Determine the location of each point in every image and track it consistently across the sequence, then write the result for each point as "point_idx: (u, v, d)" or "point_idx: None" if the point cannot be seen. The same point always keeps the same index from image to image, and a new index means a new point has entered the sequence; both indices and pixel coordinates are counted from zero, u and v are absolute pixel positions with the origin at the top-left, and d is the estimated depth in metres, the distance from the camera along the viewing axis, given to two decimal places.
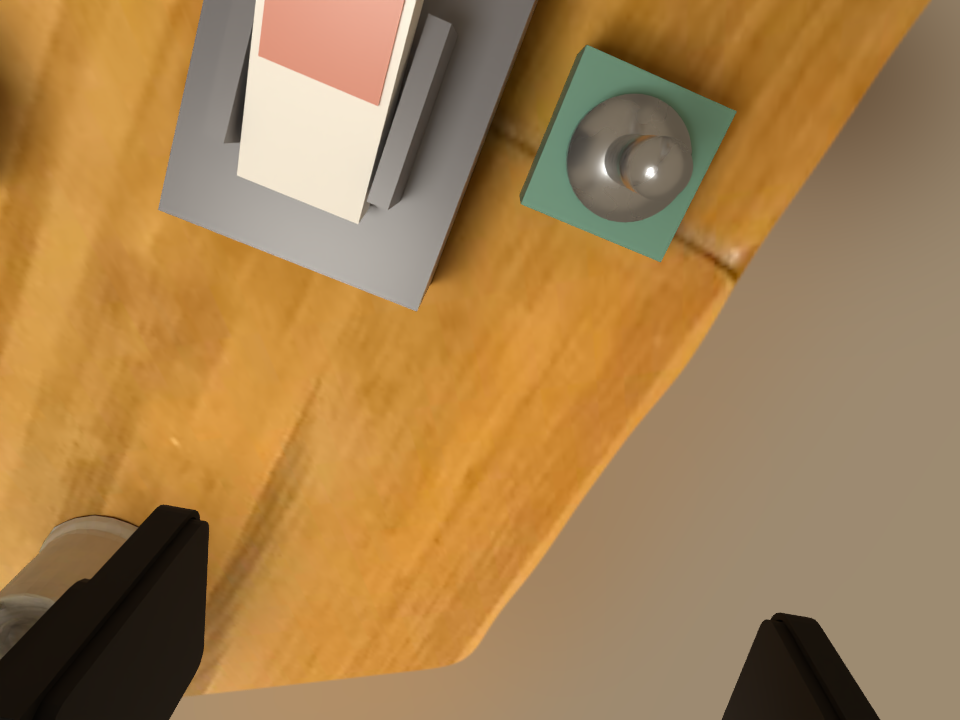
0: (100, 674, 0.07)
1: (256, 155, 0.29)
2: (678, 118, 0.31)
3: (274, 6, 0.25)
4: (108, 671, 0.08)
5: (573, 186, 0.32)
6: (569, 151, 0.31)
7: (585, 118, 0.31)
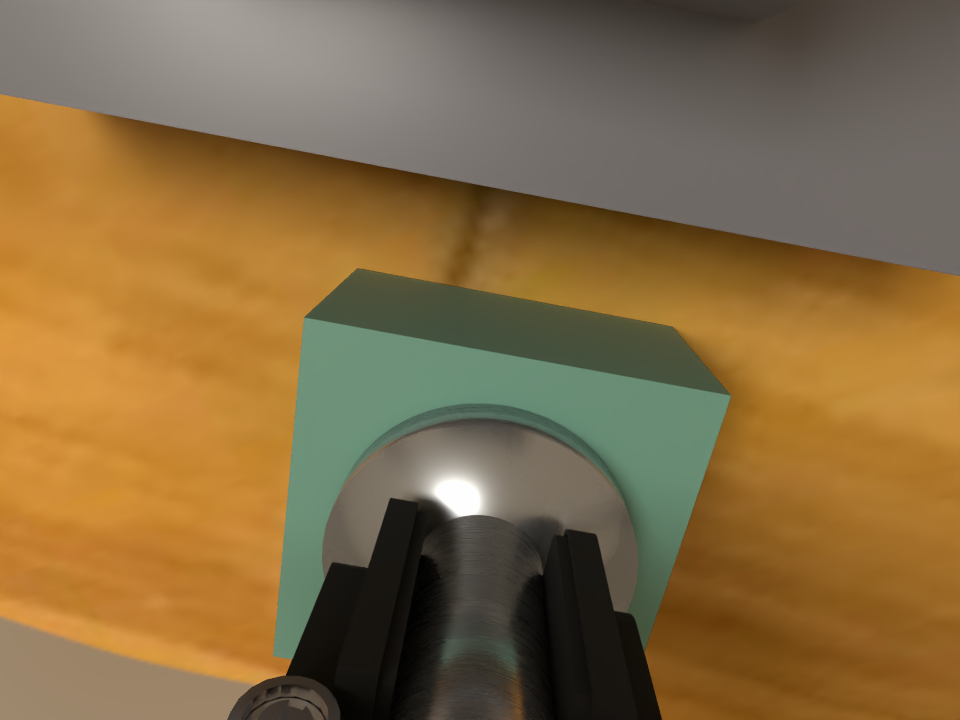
0: (403, 639, 0.09)
1: None
2: None
3: None
4: (403, 638, 0.09)
5: (380, 458, 0.12)
6: (467, 428, 0.11)
7: (559, 450, 0.11)
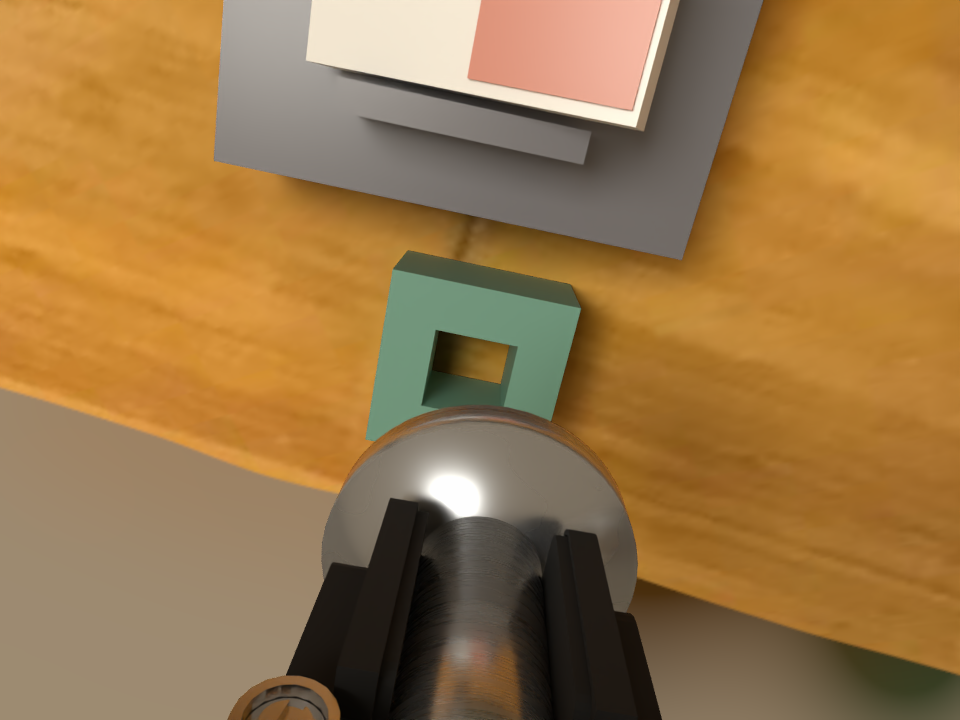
0: (403, 639, 0.09)
1: None
2: None
3: None
4: (403, 638, 0.09)
5: (379, 460, 0.12)
6: (466, 430, 0.11)
7: (558, 451, 0.11)
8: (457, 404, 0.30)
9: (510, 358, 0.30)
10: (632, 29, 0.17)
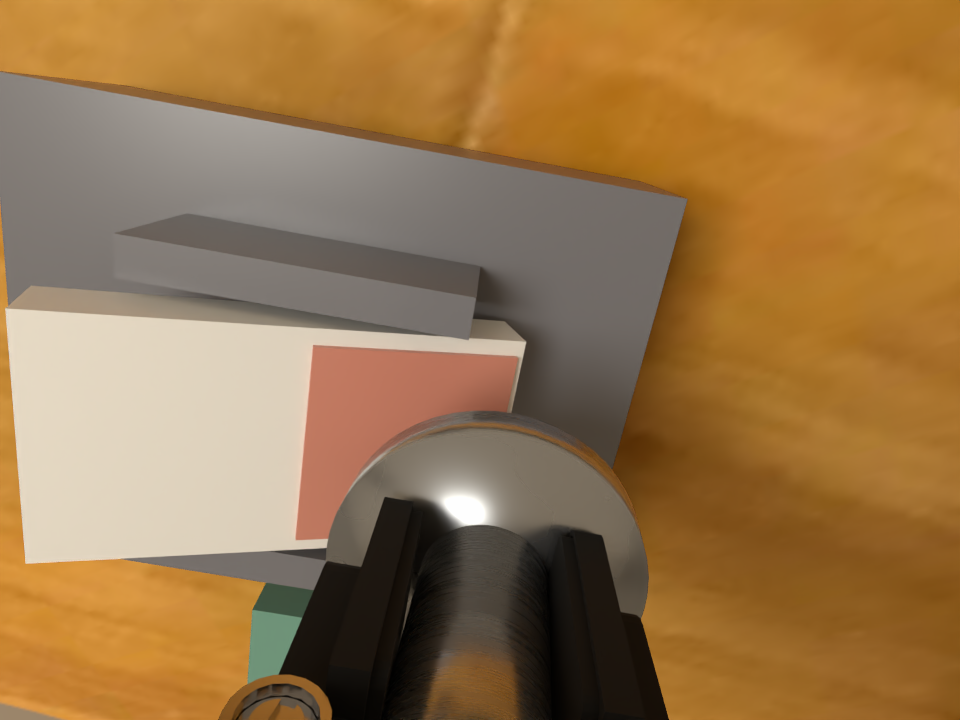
0: (396, 639, 0.09)
1: (88, 350, 0.13)
2: None
3: (402, 368, 0.15)
4: (397, 637, 0.09)
5: (383, 465, 0.11)
6: (472, 436, 0.11)
7: (566, 460, 0.11)
8: None
9: None
10: None
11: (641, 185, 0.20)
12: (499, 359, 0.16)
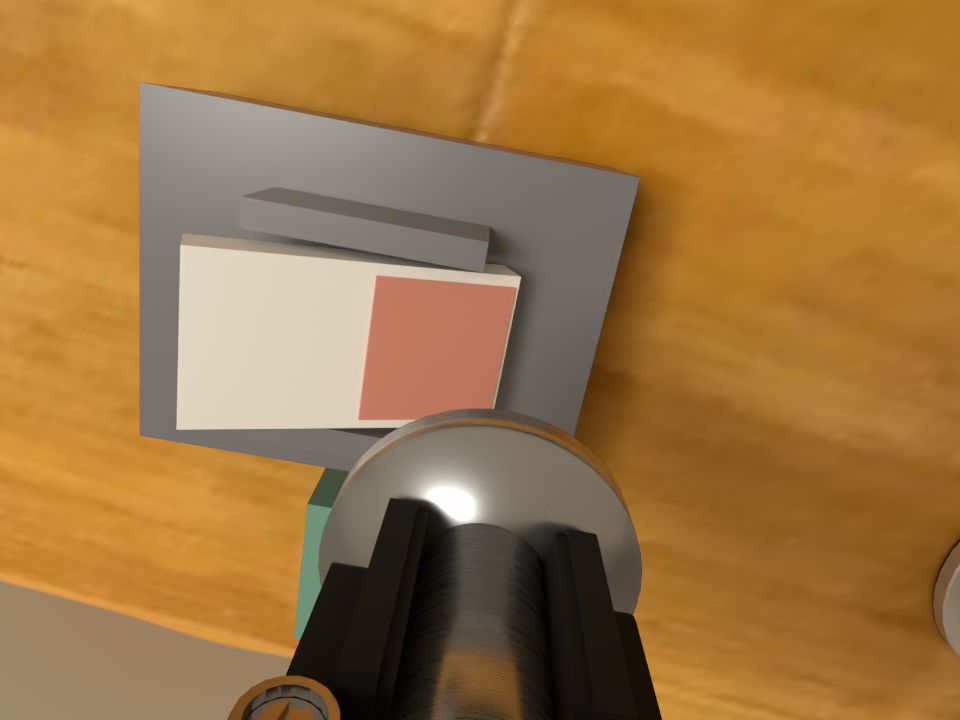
0: (403, 640, 0.09)
1: (230, 275, 0.19)
2: None
3: (436, 293, 0.22)
4: (403, 638, 0.09)
5: (377, 465, 0.11)
6: (467, 435, 0.11)
7: (561, 457, 0.11)
8: None
9: None
10: (485, 372, 0.24)
11: (610, 169, 0.26)
12: (502, 289, 0.23)
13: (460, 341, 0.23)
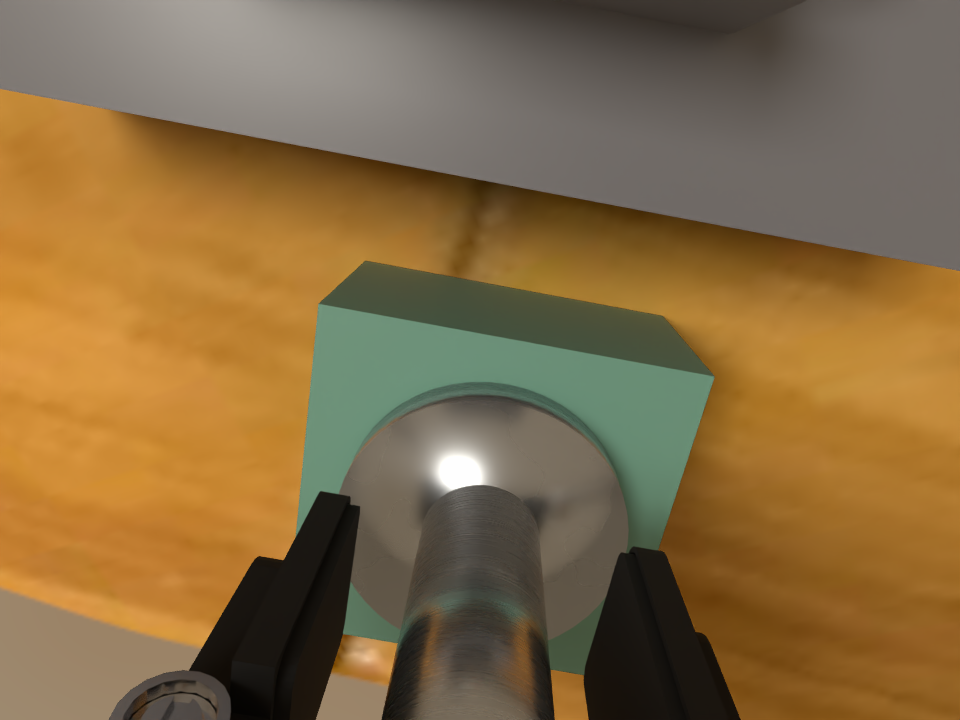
0: (313, 634, 0.09)
1: None
2: (588, 608, 0.14)
3: None
4: (316, 632, 0.09)
5: (389, 431, 0.12)
6: (470, 403, 0.12)
7: (555, 424, 0.12)
8: None
9: None
10: None
11: None
12: None
13: None
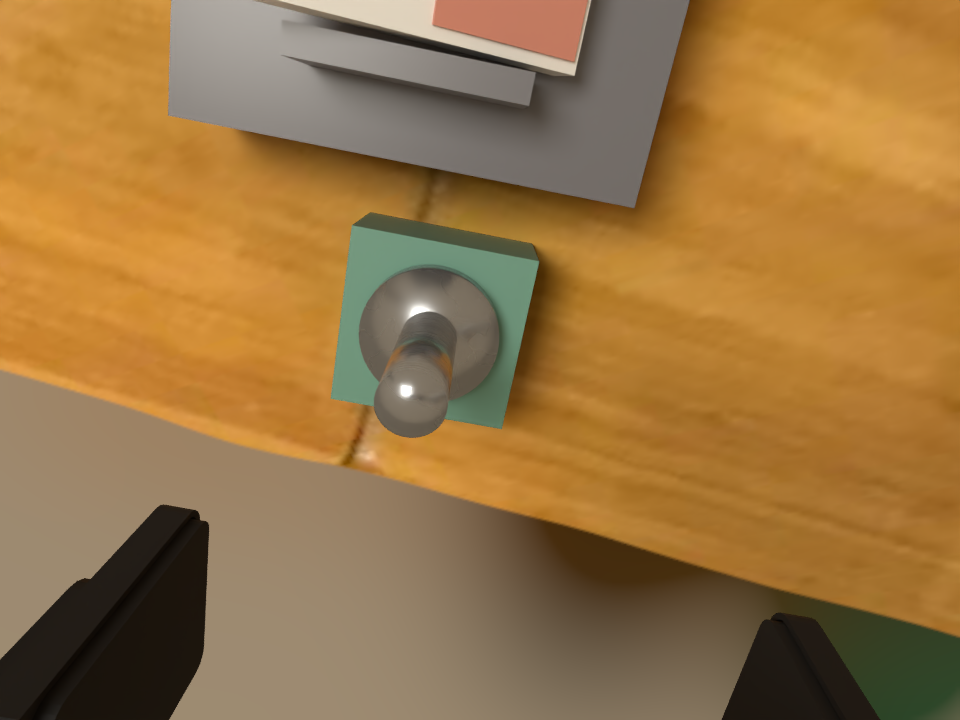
0: (100, 674, 0.07)
1: None
2: (482, 377, 0.28)
3: None
4: (108, 671, 0.08)
5: (385, 284, 0.27)
6: (423, 270, 0.27)
7: (462, 280, 0.27)
8: None
9: None
10: None
11: None
12: None
13: None
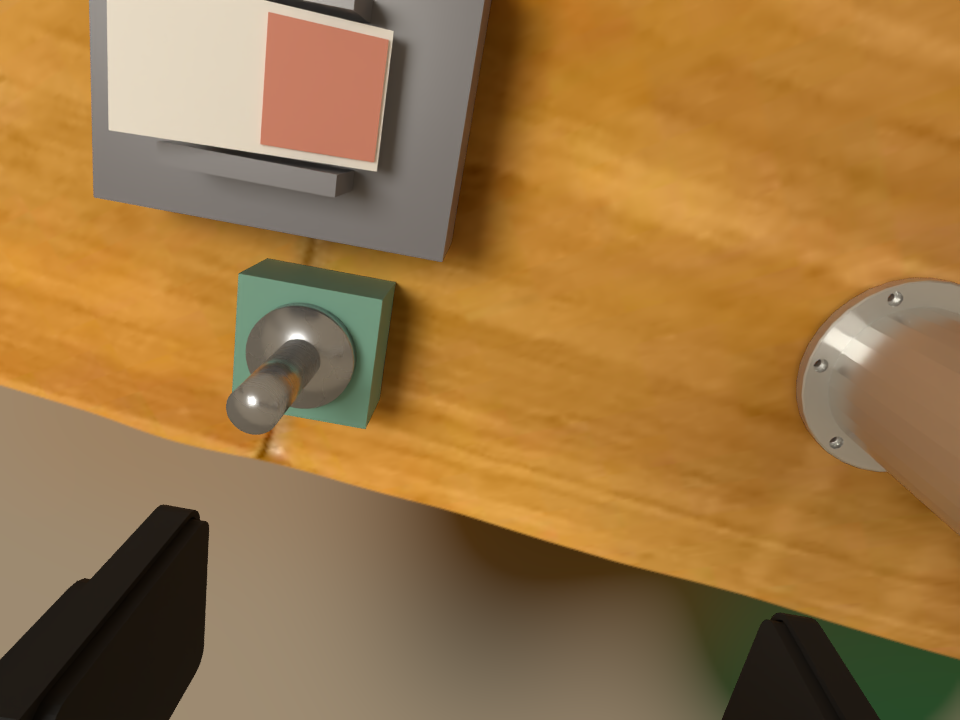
0: (100, 674, 0.07)
1: None
2: (342, 389, 0.36)
3: (319, 34, 0.27)
4: (108, 671, 0.08)
5: (263, 318, 0.35)
6: (290, 308, 0.35)
7: (320, 315, 0.35)
8: None
9: None
10: (367, 115, 0.29)
11: None
12: (377, 39, 0.28)
13: (343, 83, 0.28)
